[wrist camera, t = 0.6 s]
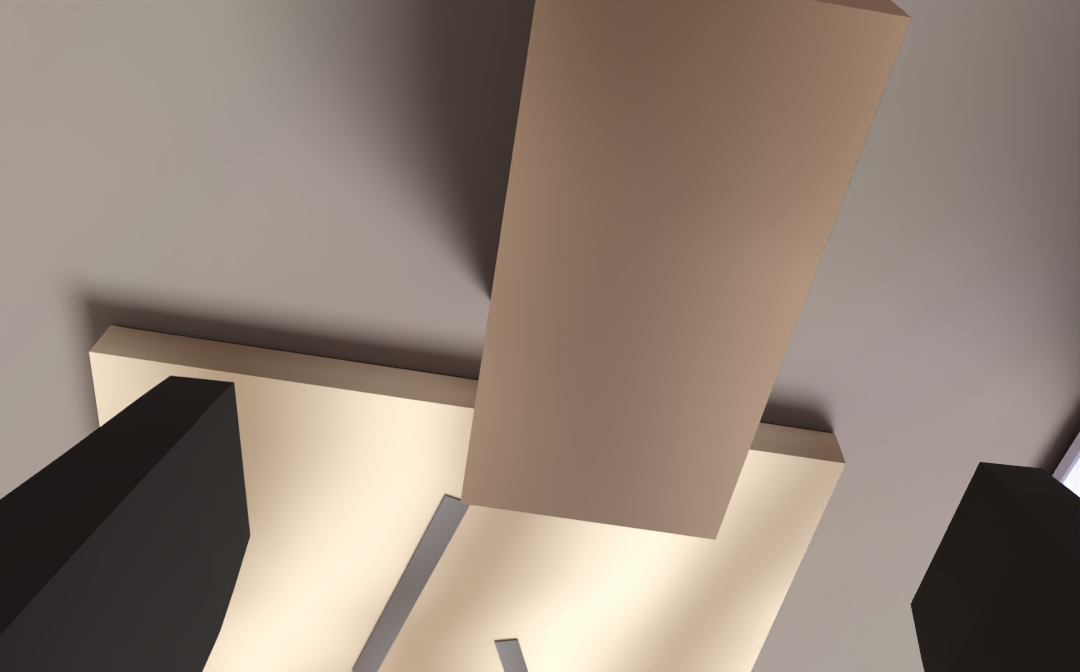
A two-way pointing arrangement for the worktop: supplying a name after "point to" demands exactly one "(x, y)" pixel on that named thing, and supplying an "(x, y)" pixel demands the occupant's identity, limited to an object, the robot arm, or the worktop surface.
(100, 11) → the worktop surface
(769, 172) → the block
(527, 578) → the board
